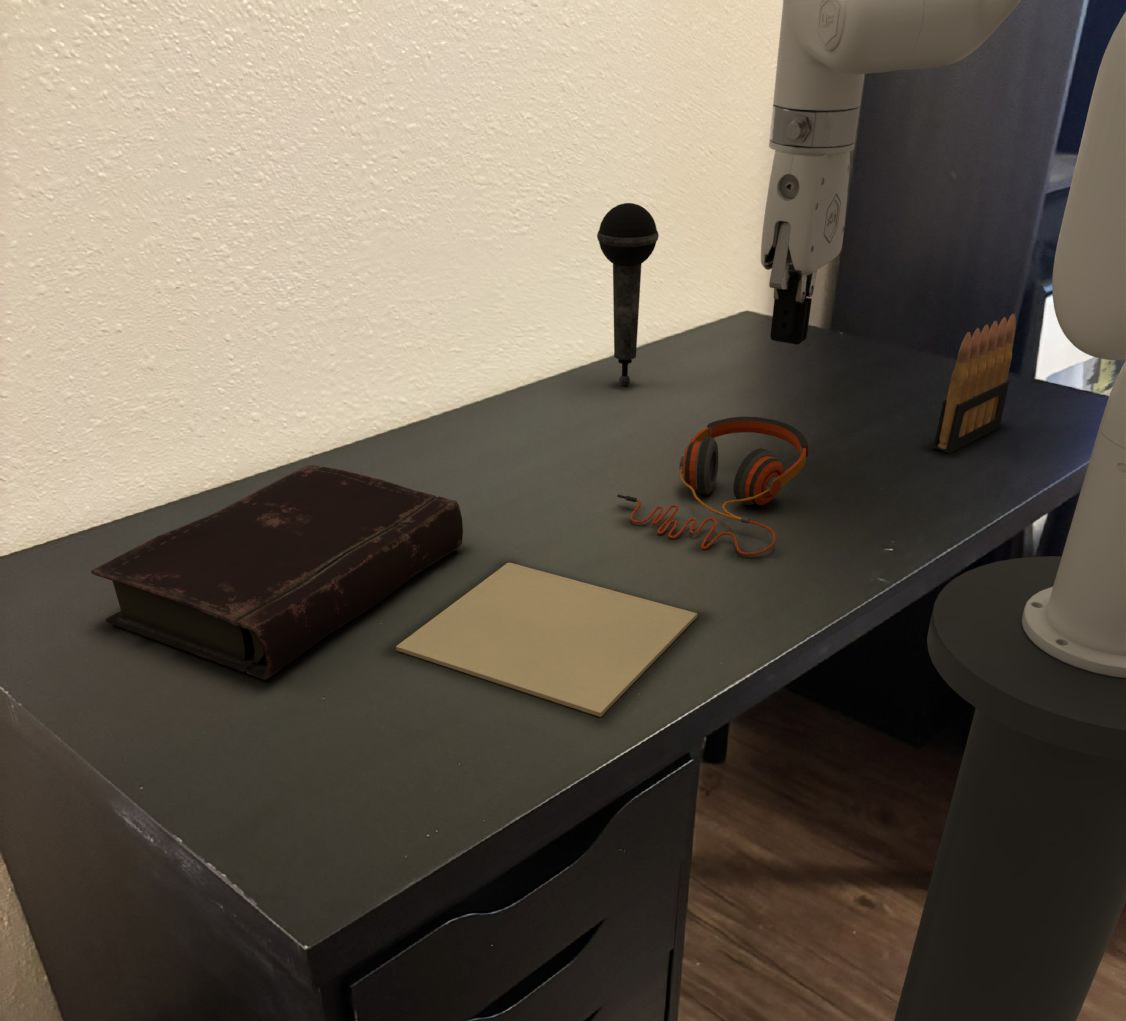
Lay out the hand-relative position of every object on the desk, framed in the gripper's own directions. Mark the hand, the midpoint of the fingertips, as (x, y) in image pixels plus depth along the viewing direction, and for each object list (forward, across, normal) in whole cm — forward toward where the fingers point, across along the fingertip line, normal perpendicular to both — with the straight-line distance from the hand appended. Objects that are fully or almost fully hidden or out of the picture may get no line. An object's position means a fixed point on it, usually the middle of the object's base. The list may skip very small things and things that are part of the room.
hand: (788, 339), depth 109 cm
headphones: (+12, -14, 0) cm, 18 cm away
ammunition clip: (+12, +14, -16) cm, 24 cm away
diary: (+12, -47, +24) cm, 55 cm away
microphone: (+12, +11, +24) cm, 29 cm away
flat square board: (+11, -43, +2) cm, 45 cm away
